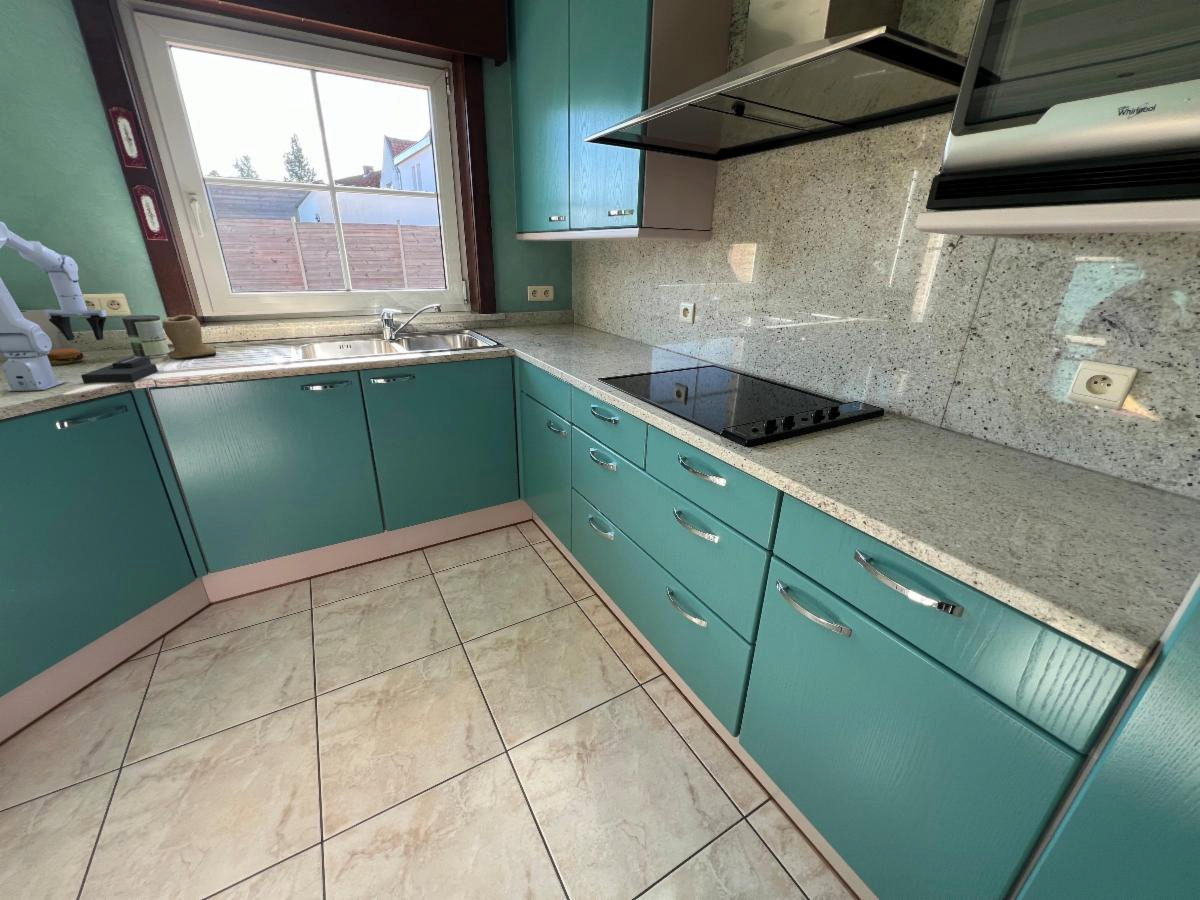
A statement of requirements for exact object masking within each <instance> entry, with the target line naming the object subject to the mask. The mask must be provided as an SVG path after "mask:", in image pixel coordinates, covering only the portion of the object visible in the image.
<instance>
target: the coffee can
mask: <svg viewBox="0 0 1200 900" xmlns="http://www.w3.org/2000/svg"><path fill="white" fill-rule="evenodd" d="M121 321H122V323H123V325H124V329H125V332H126V334H127V336H128V341H129V343H130V347H131V348H132V353H133V357H149V359H158V358H166V357H169V356H168V355H167V354H168V353H169V352H171V351H170V347H169V344H168V341H167V336H166V333H165V331H164V328H163V324H162V321H161V316H160V315H155V314H154V315H153V314H143V315H141V314H140V315H129V316H123V317H121Z"/></svg>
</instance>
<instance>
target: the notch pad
mask: <svg viewBox="0 0 1200 900" xmlns="http://www.w3.org/2000/svg"><path fill="white" fill-rule="evenodd" d="M158 372H159V371H158V368H157V364H156V363H151V364H145V365H142V366H139V367H136V368H124V369H114V368H113V365H112V364H110V365H106V366H104V367H101V368H98V369H95V370H92V371H90V372H85V373H83V374H81V376H80V377H81V379H82V382H83V384H104V383H106V384H108V383H133V382H135V381H138V380H141V379H143V378H145V377H148V376H150V375H153V374H155V373H158Z"/></svg>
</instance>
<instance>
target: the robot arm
mask: <svg viewBox="0 0 1200 900" xmlns="http://www.w3.org/2000/svg"><path fill="white" fill-rule="evenodd" d="M3 246H5V247H7V248H10V249H12V250H15V251H17V252H18V254H19V256H21V258H23V259H24V260H27V261H28V262H30V263H32V264H35V265H36V266H38V267H39V269H40V270H41V271H42V272H43V273H44V274H47V275H48V277H49V280H50V282H51V285H52V288H53V290H54V293H55V296H56V298H57V302H58V304H59V307H60V309H46V310H43V312H44V314H45V317H46V318H48V321H49V322H50V323H51V324H53V325H54V326H55V327H56V328H57V329H58V330H59V331H60V333H62V335H63V336H64V338H65V339H66V341H74V340H75V335H74V332H73V329H72V325H71V317H74V318H77V317H79V318H80V317H81V318H84V317H85V320H86V321H87V322H88V324H89V326H90V327H91V329H92V332H93V335H94V338H95V339H96V341H101V340H104V327H105V323H106V321H107V316H108V314H107V312H106V310H105V309H90V308H89V309H88V305H87V304H86V301H85V298H84V296H83V295H84V294H83V293H82V289H81V287H80V284H79V278H80V277H79V273H78V272H79V266H78V264H77V262H76V261H75V259H73V258H72V257H71V256H69V255H67V254H60V253H57V251H55V250H53V249H50V248H49V247H47V246H45V245H43V244H42V242H40V241H38V240H26V239H25V238H22V237H21V236H19V235H18V234H16V233H14V232H13V231H12V230H10V229H8V226H7V225H6V223H5V222H3V221H0V249H2V247H3ZM52 348H53V342H52V339H51V338H50V337H49V335H48V334H46V333H45V331H44V330H43V329H42V328H41V326H40V325H39V324H37V323H35V322H33V321H31V320H29V319H27V318H25V317H24V315H23V313H22V312H21V310H20V309H19V306H18V305H17V303H16V302H15V299H14V297H12V294H11V293H10V291H9V290H8V288H7V286H6V284H5V283H4V281H3V279H2V277H1V276H0V354H2V355H3V356H4V357H5V358H8V359H7V360H6V361H4V362H3V364H2V372H3V374H4V376H5V378H6V381H7V383H8V386H9V388H8V389H7V392H25V391H26V392H27V391H28V392H29V391H44V390H47V389H50V388H53V387H56V386H59V385H62V384H65V383H67V380H57V376H56V374H55V372H54V369H53V367H52V365H51V364H50V362H49V359H48V357H47V354H49V351H50V350H52Z"/></svg>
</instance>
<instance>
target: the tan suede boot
mask: <svg viewBox="0 0 1200 900" xmlns="http://www.w3.org/2000/svg"><path fill="white" fill-rule="evenodd" d="M161 324H162V327H163V331H164V334H165V336H166V338H168V340H169V341H170V342H171V344H172V345H173V348H174V349H173V350H171V351H170V352H169V353H168V354H167V355H168V356H167V357H169V358H172V359H186V358H187V359H188V358H196V357H206V356H213V355H216V354H217V347H216V345H215V344H205V343H203V338H202V337H203V336H202V335H203V334H202V325H201V323H200V321H199V320H198V318H197V317H196V316H194V315H191V314H179V315H175V316H173V317H172V316H170V317H169V316H167V317H166V318H164V319H163V320H162V321H161Z"/></svg>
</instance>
